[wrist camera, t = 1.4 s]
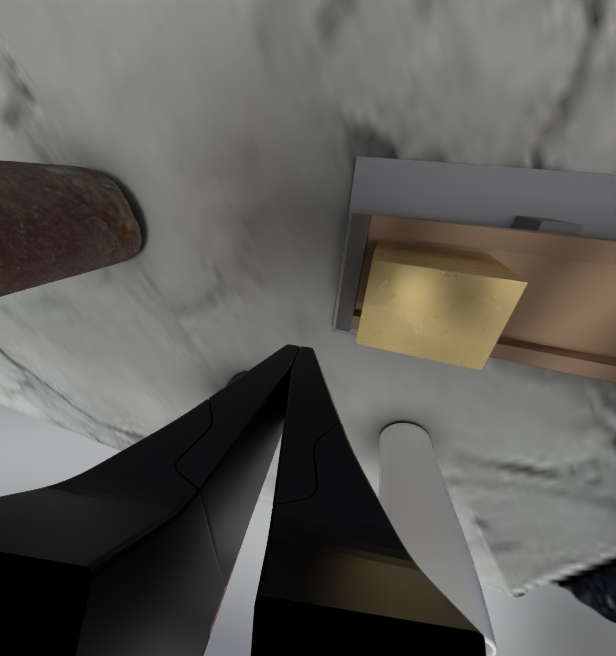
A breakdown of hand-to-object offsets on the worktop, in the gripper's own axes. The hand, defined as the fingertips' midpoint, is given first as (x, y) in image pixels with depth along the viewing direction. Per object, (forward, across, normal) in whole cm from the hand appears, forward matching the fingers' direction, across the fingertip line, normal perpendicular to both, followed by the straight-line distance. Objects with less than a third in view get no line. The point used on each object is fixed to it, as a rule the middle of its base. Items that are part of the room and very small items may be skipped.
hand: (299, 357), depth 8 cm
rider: (+9, -6, 0) cm, 11 cm away
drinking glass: (+14, -10, +19) cm, 26 cm away
